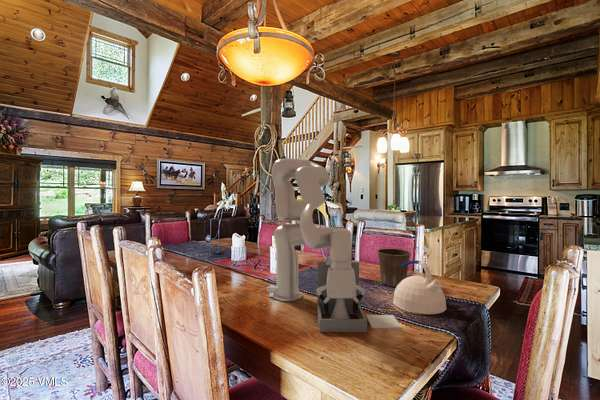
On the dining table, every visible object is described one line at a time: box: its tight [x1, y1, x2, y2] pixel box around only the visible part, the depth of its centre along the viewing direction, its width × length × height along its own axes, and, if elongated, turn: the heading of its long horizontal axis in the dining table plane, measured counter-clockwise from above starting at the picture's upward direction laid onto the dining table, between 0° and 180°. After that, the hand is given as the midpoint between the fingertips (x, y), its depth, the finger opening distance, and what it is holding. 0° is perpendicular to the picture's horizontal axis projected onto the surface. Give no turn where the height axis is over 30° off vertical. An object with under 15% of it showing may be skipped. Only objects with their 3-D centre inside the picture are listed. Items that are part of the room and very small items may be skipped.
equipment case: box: [316, 261, 368, 333], centre depth 110 cm, size 16×16×20 cm
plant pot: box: [376, 248, 412, 288], centre depth 155 cm, size 16×16×16 cm
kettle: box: [392, 260, 447, 315], centre depth 126 cm, size 20×21×18 cm
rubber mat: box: [365, 314, 403, 330], centre depth 109 cm, size 10×10×1 cm
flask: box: [329, 299, 351, 319], centre depth 109 cm, size 7×7×10 cm
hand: (340, 313), depth 109 cm, fingers open, 9 cm apart
